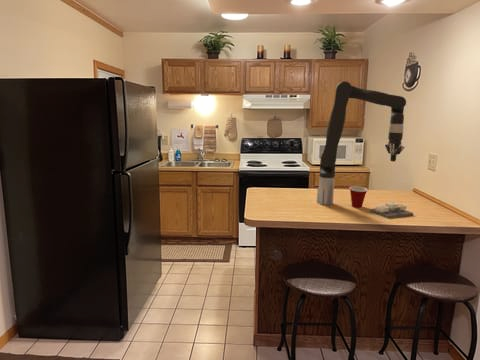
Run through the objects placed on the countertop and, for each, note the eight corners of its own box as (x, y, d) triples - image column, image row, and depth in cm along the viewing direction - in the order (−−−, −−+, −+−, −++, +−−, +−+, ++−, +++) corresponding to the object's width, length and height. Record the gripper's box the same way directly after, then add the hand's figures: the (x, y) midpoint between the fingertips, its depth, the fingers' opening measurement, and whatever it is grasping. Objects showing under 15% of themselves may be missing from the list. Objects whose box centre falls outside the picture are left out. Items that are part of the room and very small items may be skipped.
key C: (399, 212, 194) (400, 206, 194) (393, 210, 199) (394, 204, 198) (406, 212, 196) (406, 205, 195) (399, 209, 200) (400, 203, 199)
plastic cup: (350, 209, 204) (351, 189, 201) (345, 204, 214) (347, 185, 212) (368, 209, 203) (370, 190, 201) (363, 204, 214) (364, 186, 211)
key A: (381, 214, 190) (382, 207, 189) (376, 212, 194) (376, 205, 193) (388, 214, 192) (388, 207, 191) (382, 211, 196) (383, 205, 195)
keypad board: (387, 218, 186) (388, 211, 185) (369, 211, 199) (370, 204, 198) (412, 215, 192) (413, 208, 191) (394, 208, 205) (394, 202, 204)
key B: (391, 211, 192) (391, 204, 191) (385, 209, 196) (385, 202, 195) (397, 210, 193) (398, 203, 193) (391, 208, 198) (392, 201, 197)
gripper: (382, 131, 201) (379, 160, 205) (399, 132, 189) (396, 163, 193) (392, 131, 204) (389, 159, 207) (409, 132, 192) (406, 162, 195)
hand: (393, 161), depth 200 cm, fingers closed
